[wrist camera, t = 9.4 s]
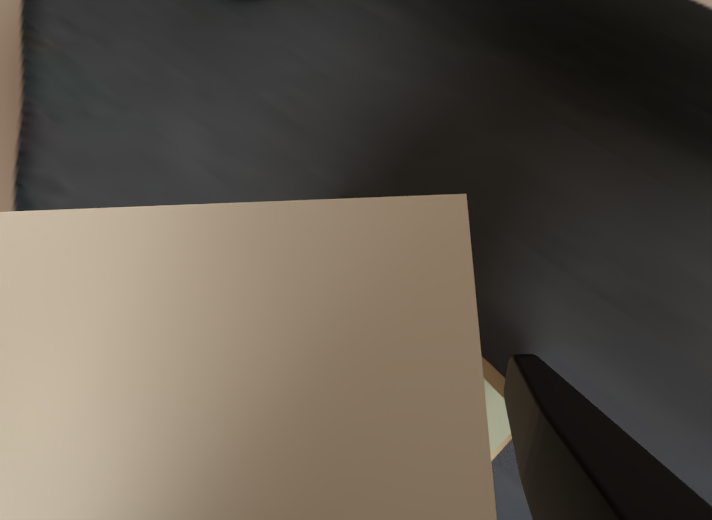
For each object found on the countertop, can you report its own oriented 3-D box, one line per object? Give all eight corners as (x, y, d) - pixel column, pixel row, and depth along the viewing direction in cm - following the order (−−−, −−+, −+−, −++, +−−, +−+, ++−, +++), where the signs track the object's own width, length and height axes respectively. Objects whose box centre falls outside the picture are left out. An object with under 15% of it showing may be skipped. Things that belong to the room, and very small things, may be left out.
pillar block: (412, 508, 16) (531, 897, 4) (235, 511, 16) (-197, 890, 4) (403, 328, 17) (466, 194, 5) (242, 333, 18) (-52, 213, 6)
